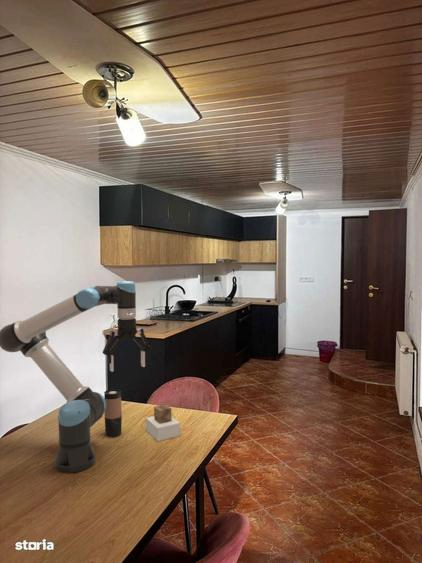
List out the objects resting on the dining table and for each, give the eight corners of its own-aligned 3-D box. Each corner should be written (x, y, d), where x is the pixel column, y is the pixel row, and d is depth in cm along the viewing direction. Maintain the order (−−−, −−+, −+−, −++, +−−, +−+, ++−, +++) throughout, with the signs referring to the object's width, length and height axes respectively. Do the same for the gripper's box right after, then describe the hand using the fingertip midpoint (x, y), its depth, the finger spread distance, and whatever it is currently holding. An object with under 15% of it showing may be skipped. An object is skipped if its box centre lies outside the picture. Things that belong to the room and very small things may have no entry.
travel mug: (124, 431, 189) (123, 389, 188) (118, 438, 181) (118, 394, 180) (108, 430, 189) (107, 388, 189) (102, 437, 182) (101, 393, 181)
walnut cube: (159, 423, 182) (159, 410, 181) (154, 419, 187) (154, 406, 186) (171, 421, 185) (171, 408, 184) (166, 416, 190) (165, 404, 190)
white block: (157, 441, 177) (157, 428, 177) (145, 430, 189) (145, 417, 189) (180, 435, 183) (179, 422, 183) (167, 425, 195) (167, 413, 195)
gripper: (99, 321, 157) (100, 375, 158) (158, 316, 170) (158, 366, 171) (94, 319, 164) (95, 370, 165) (151, 315, 177) (152, 362, 178)
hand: (127, 368), depth 168 cm, fingers open, 13 cm apart
